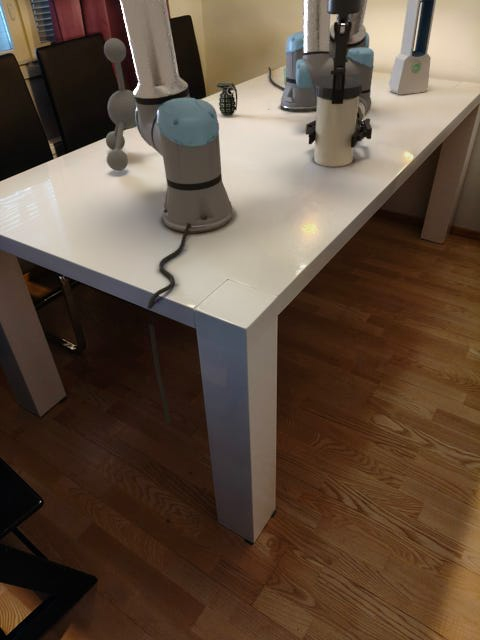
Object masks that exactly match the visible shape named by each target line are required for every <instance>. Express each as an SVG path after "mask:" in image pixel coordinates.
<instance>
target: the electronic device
mask: <svg viewBox="0 0 480 640" xmlns="http://www.w3.org/2000/svg"><path fill="white" fill-rule="evenodd" d="M436 3H437V0H407V3H406V9H405V10H406V11H405V17H404V24H403V31H402V39H401V46H400V52H399V53H398V54H397V56H396V57H395V58H394V62H393V66H392V70H391V73H390V77H389V81H388V88H389V90H390V91H391V92H392V93H394V94H397V95H399V96H403V95H410V94H418V93H425V92H426V91H427V90H428V88H429V79H430V70H431V69H430V68H431V56H430V55H429V53H428V50H429V45H430V39H431V32H432V27H433V21H434V16H435V10H436Z"/></svg>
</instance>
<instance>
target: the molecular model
mask: <svg viewBox="0 0 480 640" xmlns="http://www.w3.org/2000/svg"><path fill="white" fill-rule="evenodd" d="M103 53H104V55H105V57H106V59H107V60H108V61H109V62H111V63H114V68H115V72H116V77H117V78H116V79H117V83H118V89H119V90H117V91H115V92H114V93H112V94H111V96H110V97H109V99H108V102H107V113H108V117H109V118H110V120H111V121H112V123H113V124H115V128H114V130H113V131H110V132H108V133H107V135H106V137H105V144H106V146H107V147H108V148H109V150H110V151H109V152H108V153H107V156H106V162H107V165H108V167H109V168H110V169H111V170H113V171H116V172H119V171H120V172H121V171H123V170H125V169H126V168H127V166H128V164H129V158H128V155H127V153H126V152H125V151H124V150H122V149H123V148H125V144H126V140H125V139H126V138H125V137H124V130H130V129H131V130H132V129H134V128H137V125H136V121H135V112H136V108H137V106H136V102H135V98H134V90H130V89H126V86H125V80H124V73H123V69H122V62H123V61H124V60H125V58H126V57H127V47H126V45H125V43H124V42H123V41H122V40H121V39H119V38H116V37H112V38H111V37H110V38H109V39H107V40H106V41H105V43H104V45H103Z"/></svg>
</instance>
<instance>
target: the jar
mask: <svg viewBox="0 0 480 640" xmlns="http://www.w3.org/2000/svg"><path fill="white" fill-rule="evenodd" d="M358 100H359V96H358V97H355V98H350V99H343V104H332V99H324V98H320V97H317V107H316V110H315V111H316V112H315V120H316V129H315V141H314V156H313V161H314V162H315V163H316V164H317V165H320V166H324V167H331V168H332V167H336V168H337V167H343V166H347V165H350V164H352V163H353V161H354V153H355V152H354V151H355V147H354V148H351V140H352V136H353V134H354V133H355V131H356V121H357V110H358Z"/></svg>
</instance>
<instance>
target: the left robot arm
mask: <svg viewBox="0 0 480 640" xmlns="http://www.w3.org/2000/svg"><path fill="white" fill-rule="evenodd" d="M119 2H120V6H121V10H122V14H123V21H124V24H125V29H126V33H127V38H128V42H129V46H130V52H131V55H132V60H133V65H134V69H135V74H136V78H137V86H136V87H135V88H134V90H133V92H134V98H135V102H136V106H137V108H136V112H135V121H136V125H137V126H136V128H137V131H138V133H139V135H140V137H141V138H142V139H143V141H145V143H146V144H147V145H148V146H149V147H151V148H152V149H154V151H156V152H157V153H158V154H159V155H161V157H162V159H163V168H164V173H165V180H166V190H165V191H166V192H165V196H164V203H163V207H162V218H163V222H164V224H165V226H167V227H168V228H169V229H171V230H173V231H177V232H180V233H183V234H182V237H181V241H180V244H179V246H178V247H177V249H176V250H175V251H173V252H172V253H170V254H168V255H166V256H164V257H163V258H161V260H160V261H159V265H158V267H159V271H160V272H161V273H162V274H164V275H165V276H166V277H168V279H169V280H170V283H169V284H168V285H167V286H165V287H163V288H160V289H158V290H157V291H155V292H154V293H153V294H152V296H151V297H150V298H149V301H148V305H147V309H148V310H151V309H152V308H153V305H154V303H155V300H156V299H157V298H158V297H159V296H160V295H162V294H163V293H165V292H168V291H169V290H171V289H173V287H174V286H175V283H176V280H175V277H174V275H172V274H171V273H170V272H169V271H167V270H166V269H165V267H164V264H165V263H166V262H167V261H169V260H171V259H173V258H174V257H176V256H177V255H179V253H181V251H182V250H183V248H184V247H185V243H186V239H187V236H188V233H190V234H191V233H192V234H193V233H194V234H195V233H196V234H197V233H205V232H206V233H207V232H210V231H215V230H216V229H220V228H222V227H224V226H226V225H227V224H228V223H230V221H231V220H232V218H233V216H234V212H233V211H234V210H233V205H232V201H231V200H230V197H229V195H228V192H227V190H226V187H225V184H224V182H223V175H222V174H223V173H222V161H221V159H222V158H221V145H220V123H219V120H218V114H217V111H216V109H215V107H214V105H212V104H211V103H210V102H209V101H207V100H204V99H201V98H199V99H196V98H195V97H191V96H190V90H189V84H188V83H187V81H185V80H184V79H183V78H181V77H180V73H179V68H178V63H177V57H176V50H175V46H174V40H173V35H172V28H171V22H170V17H169V10H168V4H167V0H119ZM360 10H361V0H328V1H327V12H328V13H329V14H330V15H337V14H338V18H337V20H338V22H336V21H334V22H333V24H334V33H335V35H334V44H335V45H336V52H335V65H334V71H331V75H333V89H332V104H343V97H344V84H345V72H346V68H345V65H346V62H348V58H346V51H347V45H348V44H349V37H350V32H351V25H352V23H351V22H348V20H349V16H348V15H349V14H355V13H358V12H360ZM148 327H149V333H150V341H151V349H152V354H153V355H152V357H153V363H154V368H155V373H156V379H157V384H158V386H159V388H158V389H159V392H160V393H159V394H160V396H161V401H162V406H163V410H164V411H163V412H164V416H165V420H166V423H167V424H168V425H169V424H170V423H171V417H170V411H169V407H168V402H167V398H166V397H167V396H166V393H165V389H164V384H163V378H162V375H161V368H160V363H159V355H158V350H157V340H156V333H155V332H156V331H155V325H152V324H148Z"/></svg>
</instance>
